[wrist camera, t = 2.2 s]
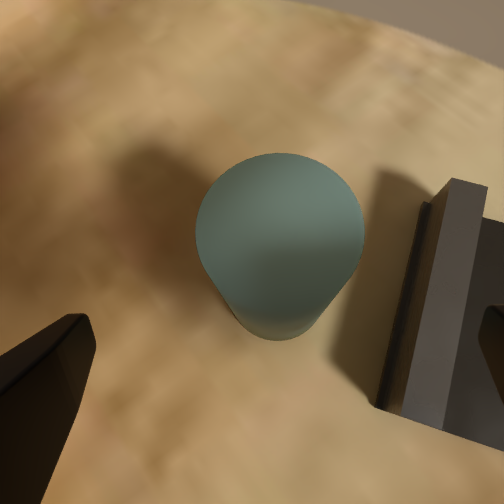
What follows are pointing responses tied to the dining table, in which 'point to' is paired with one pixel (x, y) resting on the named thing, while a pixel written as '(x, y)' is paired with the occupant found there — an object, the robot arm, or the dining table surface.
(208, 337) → the dining table surface
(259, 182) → the teal peg
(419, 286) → the rail dock
